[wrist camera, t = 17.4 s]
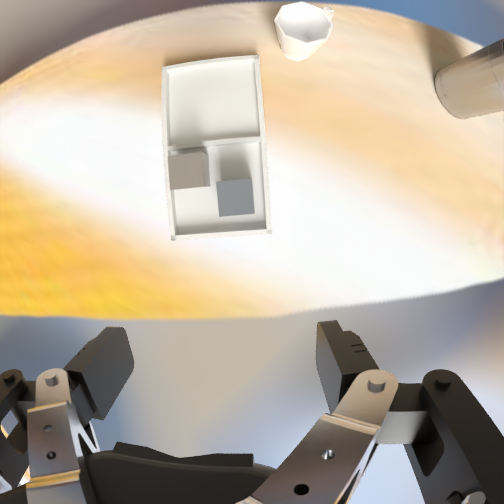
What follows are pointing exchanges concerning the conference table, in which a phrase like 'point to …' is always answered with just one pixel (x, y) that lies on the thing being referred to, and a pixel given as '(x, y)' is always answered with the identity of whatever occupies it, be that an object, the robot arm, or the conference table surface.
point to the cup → (302, 29)
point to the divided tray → (216, 142)
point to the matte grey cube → (235, 197)
